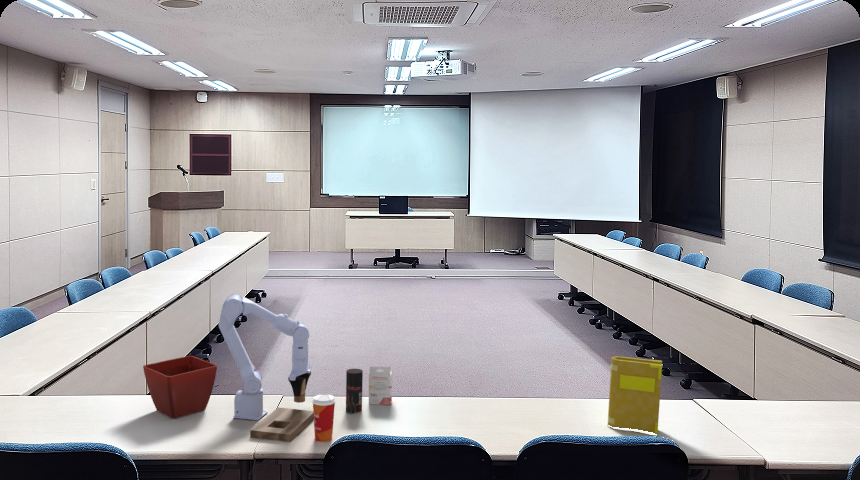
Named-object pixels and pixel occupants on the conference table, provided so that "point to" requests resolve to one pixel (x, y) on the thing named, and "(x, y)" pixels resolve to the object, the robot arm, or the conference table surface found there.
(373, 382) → the ink cartridge box
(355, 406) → the deodorant
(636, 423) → the book
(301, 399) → the peg
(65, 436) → the conference table surface
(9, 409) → the conference table surface
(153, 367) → the plant pot
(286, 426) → the socket board
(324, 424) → the paper cup
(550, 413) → the conference table surface
